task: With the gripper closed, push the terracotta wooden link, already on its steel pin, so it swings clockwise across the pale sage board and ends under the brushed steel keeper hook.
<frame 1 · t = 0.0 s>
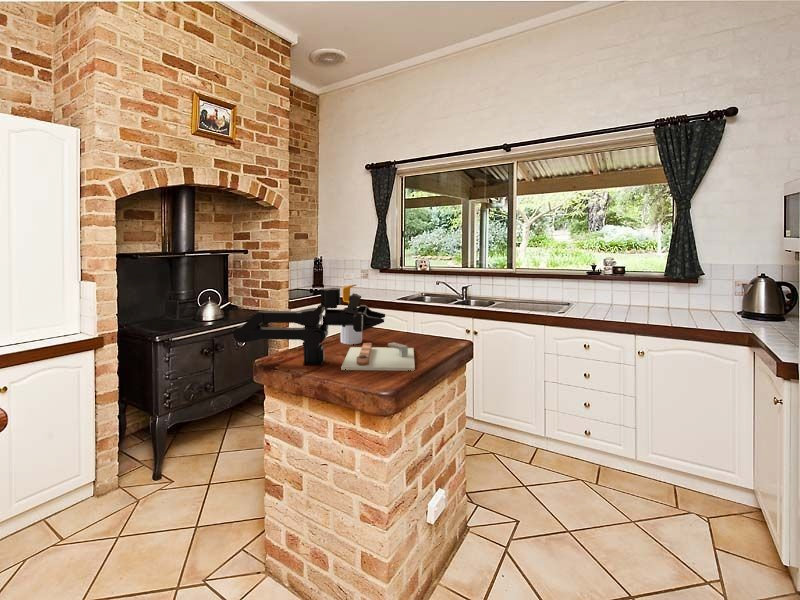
hand: (384, 318, 158), 17 cm above the table, tool horizontal, fingers open, 9 cm apart
soap bottle: (351, 342, 191), on the table
link: (365, 352, 165), point 3 cm above the table, hinge at 0.0°
base board: (380, 359, 166), on the table
keeper: (397, 357, 169), resting on base board
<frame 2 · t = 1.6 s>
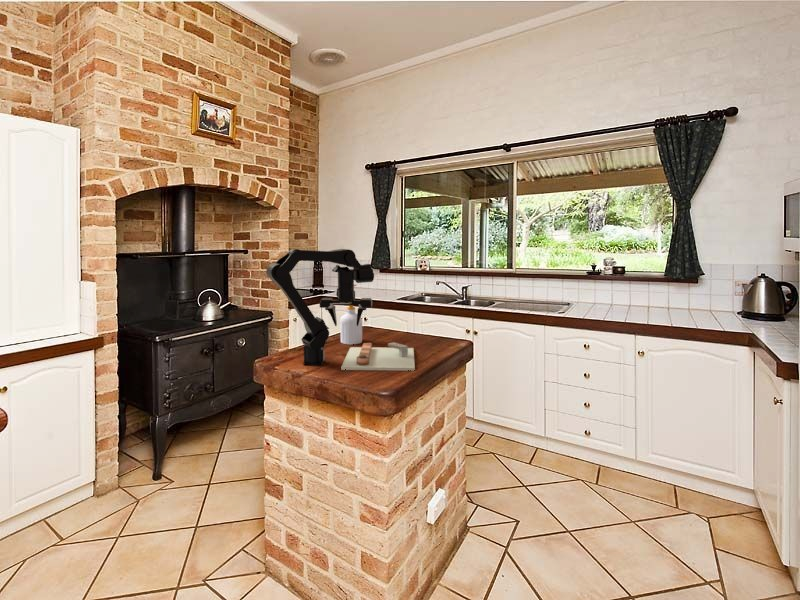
hand: (346, 325, 166), 12 cm above the table, tool pointing down, fingers open, 8 cm apart
nothing on the table moved.
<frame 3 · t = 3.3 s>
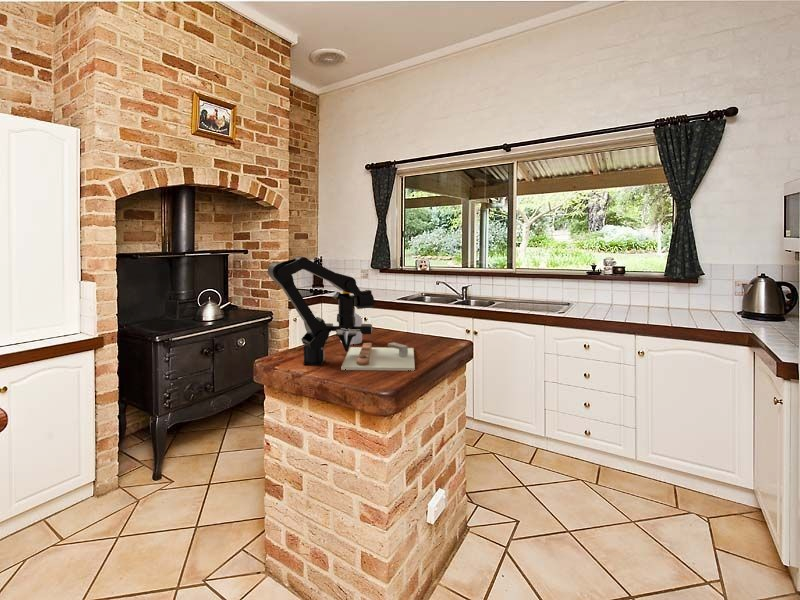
hand: (346, 351, 167), 2 cm above the table, tool pointing down, fingers closed
nothing on the table moved.
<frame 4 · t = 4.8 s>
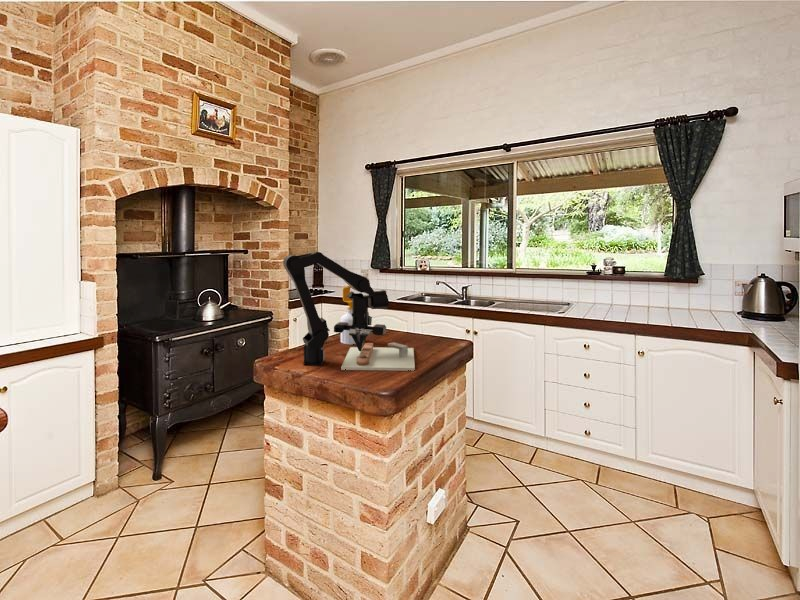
hand: (360, 351, 168), 2 cm above the table, tool pointing down, fingers closed
link: (365, 352, 165), point 3 cm above the table, hinge at -1.8°, touching gripper
everything else where it was.
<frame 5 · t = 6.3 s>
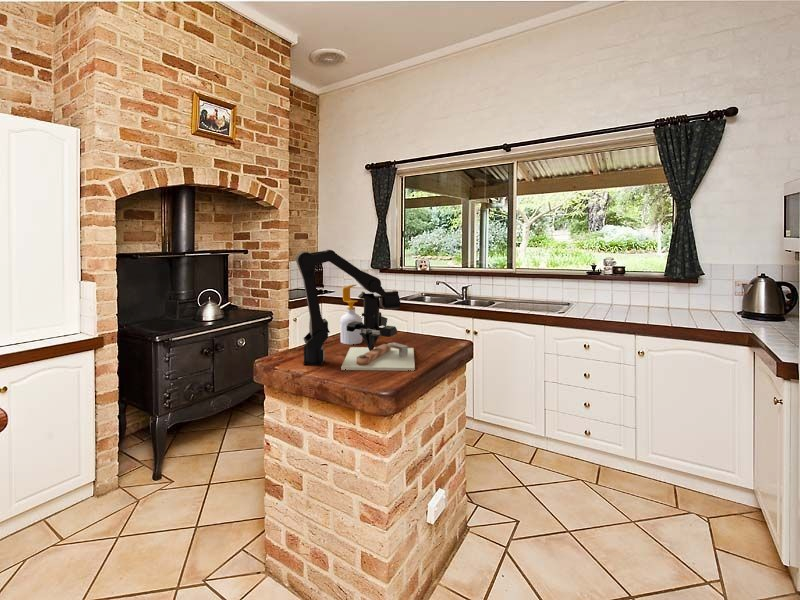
hand: (371, 351, 168), 2 cm above the table, tool pointing down, fingers closed
link: (374, 353, 165), point 3 cm above the table, hinge at -22.6°, touching gripper
everything else where it was.
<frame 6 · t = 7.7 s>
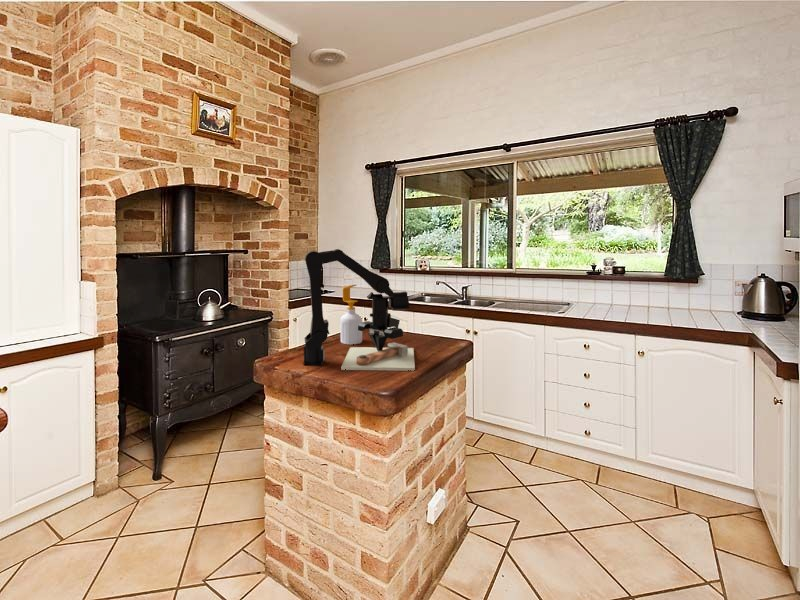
hand: (379, 352, 167), 2 cm above the table, tool pointing down, fingers closed
link: (380, 354, 163), point 3 cm above the table, hinge at -39.9°, touching gripper
everything else where it was.
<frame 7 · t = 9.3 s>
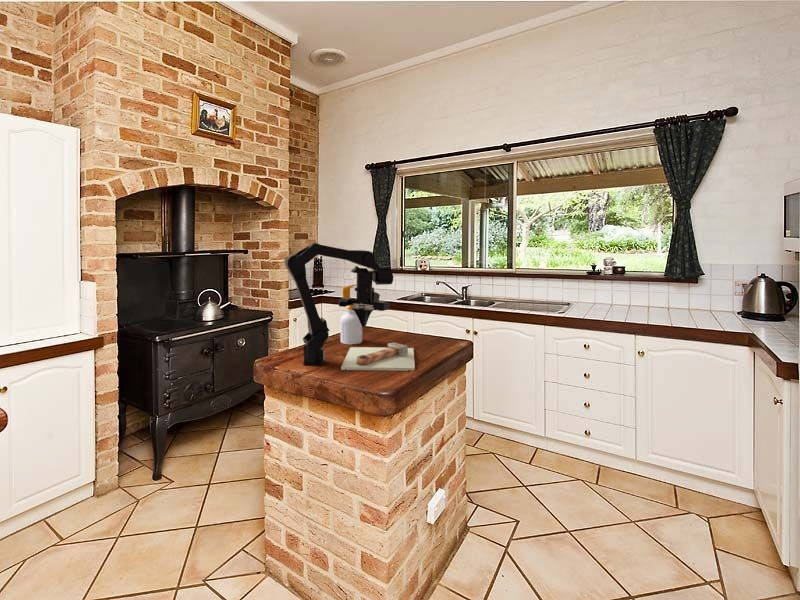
hand: (363, 326, 167), 12 cm above the table, tool pointing down, fingers closed
link: (380, 354, 163), point 3 cm above the table, hinge at -40.1°
everything else where it was.
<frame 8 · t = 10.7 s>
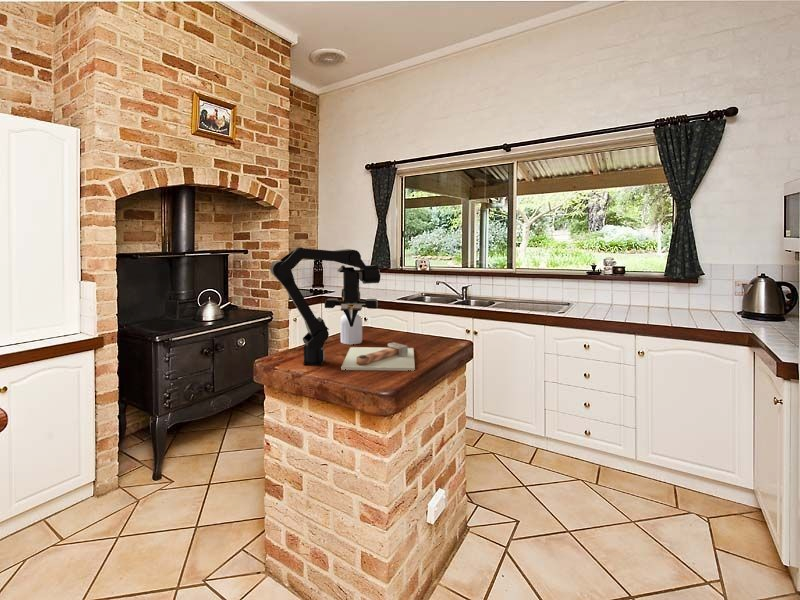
hand: (351, 326, 165), 12 cm above the table, tool pointing down, fingers closed
nothing on the table moved.
at the end: link at -40° (first picture: +0°); soap bottle moved 0.2 cm from its start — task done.
